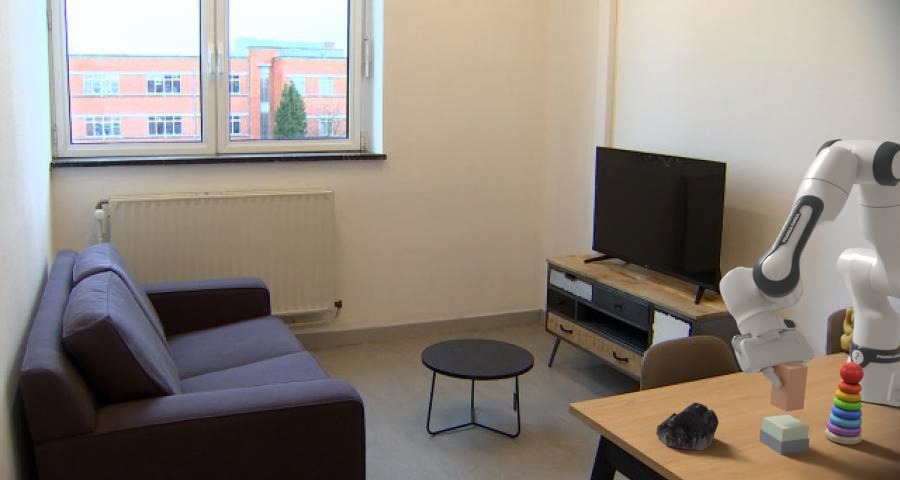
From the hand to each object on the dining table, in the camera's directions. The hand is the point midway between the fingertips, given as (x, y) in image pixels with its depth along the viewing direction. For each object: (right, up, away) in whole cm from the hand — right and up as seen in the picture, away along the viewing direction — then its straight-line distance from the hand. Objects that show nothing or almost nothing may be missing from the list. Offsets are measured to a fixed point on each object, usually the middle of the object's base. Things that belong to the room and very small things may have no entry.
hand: (791, 384), depth 198 cm
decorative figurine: (+48, -2, +72) cm, 86 cm away
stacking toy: (+15, -14, +8) cm, 22 cm away
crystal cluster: (-22, -14, +6) cm, 27 cm away
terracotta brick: (0, -5, +2) cm, 5 cm away
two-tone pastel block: (0, -15, +3) cm, 15 cm away
